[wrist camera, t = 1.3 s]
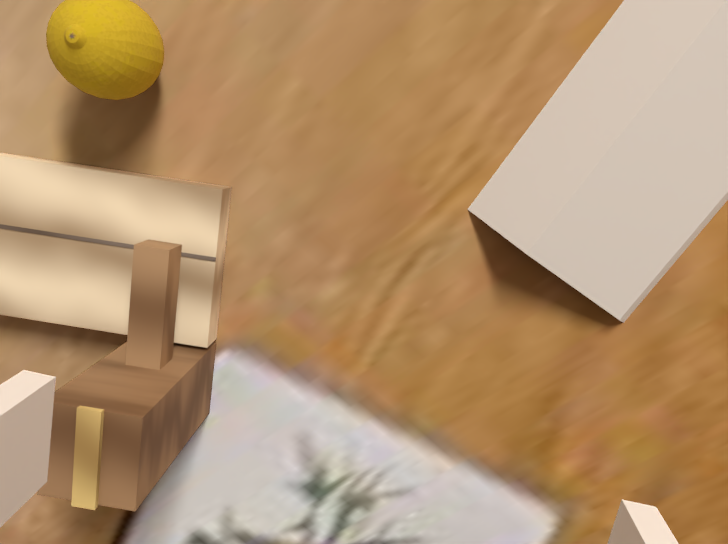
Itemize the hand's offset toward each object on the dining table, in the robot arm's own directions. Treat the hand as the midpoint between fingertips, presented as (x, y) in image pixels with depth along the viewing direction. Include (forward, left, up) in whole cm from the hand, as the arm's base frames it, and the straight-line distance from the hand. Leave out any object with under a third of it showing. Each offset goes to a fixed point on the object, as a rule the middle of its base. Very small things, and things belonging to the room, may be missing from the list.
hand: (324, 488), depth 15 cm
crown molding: (+15, -17, -28) cm, 36 cm away
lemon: (+11, +16, -27) cm, 33 cm away
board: (-1, +21, -27) cm, 34 cm away
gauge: (-6, +12, -27) cm, 30 cm away
